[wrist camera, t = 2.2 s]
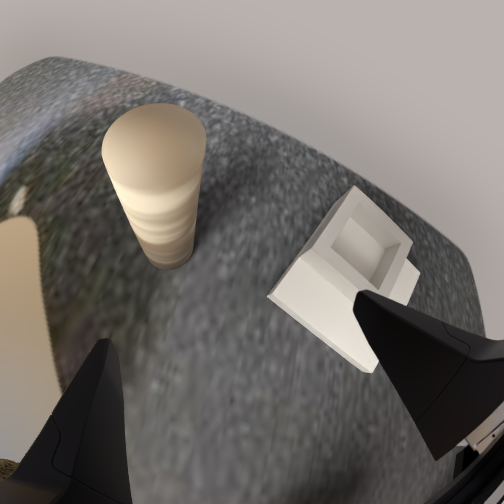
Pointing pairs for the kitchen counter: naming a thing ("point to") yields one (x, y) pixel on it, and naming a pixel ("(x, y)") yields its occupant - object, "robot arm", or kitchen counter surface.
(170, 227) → the birch post
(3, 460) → the cup
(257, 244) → the kitchen counter surface
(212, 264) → the kitchen counter surface
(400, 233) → the socket base
